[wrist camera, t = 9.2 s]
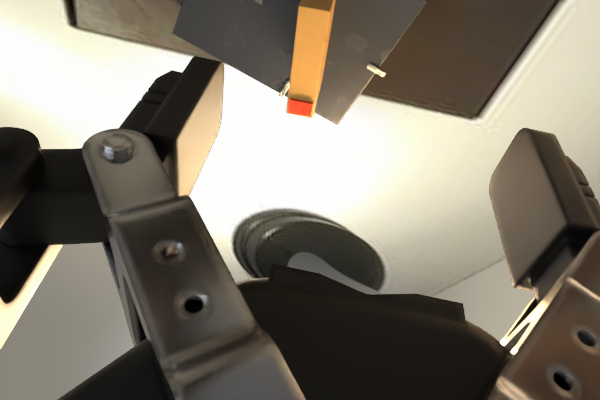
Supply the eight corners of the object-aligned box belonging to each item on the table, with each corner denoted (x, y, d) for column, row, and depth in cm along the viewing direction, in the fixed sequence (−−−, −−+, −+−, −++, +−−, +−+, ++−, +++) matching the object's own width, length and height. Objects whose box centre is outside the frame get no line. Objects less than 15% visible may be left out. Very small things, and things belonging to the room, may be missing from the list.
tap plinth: (187, 17, 35) (171, 35, 33) (242, -140, 28) (226, -133, 25) (346, 107, 38) (343, 131, 36) (432, -13, 31) (436, 5, 28)
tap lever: (310, -23, 29) (297, 6, 25) (338, -18, 29) (330, 12, 25) (297, 78, 33) (285, 115, 30) (321, 82, 33) (312, 120, 29)
